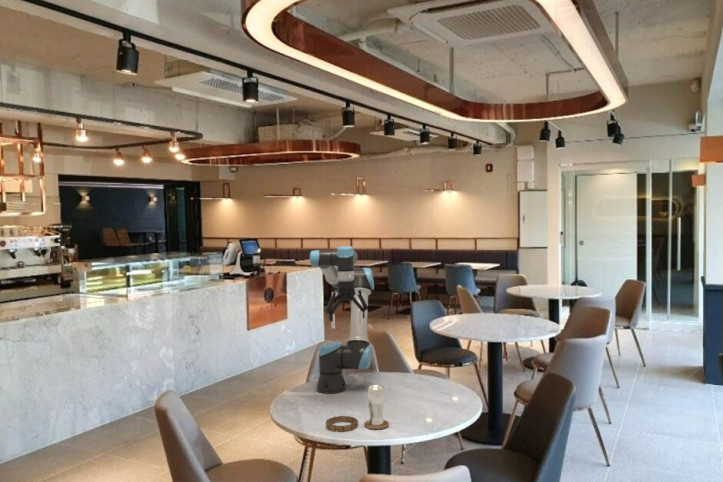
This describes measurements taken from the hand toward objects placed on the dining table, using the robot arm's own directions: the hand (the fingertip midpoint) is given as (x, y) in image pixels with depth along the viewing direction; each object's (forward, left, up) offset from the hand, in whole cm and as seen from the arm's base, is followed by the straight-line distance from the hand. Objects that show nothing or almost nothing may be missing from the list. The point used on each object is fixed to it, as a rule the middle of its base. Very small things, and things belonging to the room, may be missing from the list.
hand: (347, 327), depth 262 cm
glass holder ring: (+22, -12, -37) cm, 44 cm away
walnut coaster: (+28, +1, -37) cm, 46 cm away
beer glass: (+28, +1, -36) cm, 46 cm away
